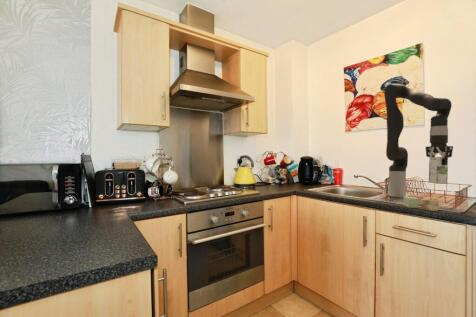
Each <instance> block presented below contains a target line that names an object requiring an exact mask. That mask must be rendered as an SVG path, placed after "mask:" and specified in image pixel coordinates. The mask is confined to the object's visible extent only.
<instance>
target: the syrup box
mask: <svg viewBox="0 0 476 317" xmlns="http://www.w3.org/2000/svg"><path fill="white" fill-rule="evenodd" d="M428 159H429V161H428V164H429V165H428V183H430V184H431V183H432V184H437V185H438V184H440V185H441V184H448V177H449V176H448V174H449V172H448V170H449V169H448V168H449V158H448V159H447V165H442V159H443V158H442V156H435V157H430V158H429V157H428Z"/></svg>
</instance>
